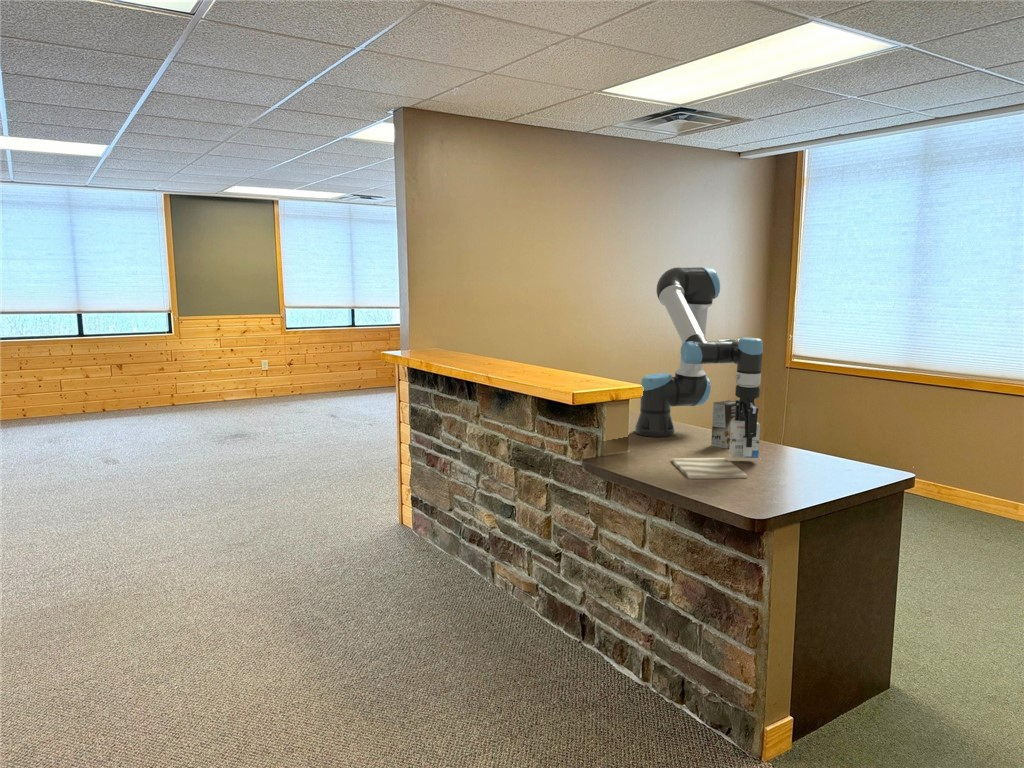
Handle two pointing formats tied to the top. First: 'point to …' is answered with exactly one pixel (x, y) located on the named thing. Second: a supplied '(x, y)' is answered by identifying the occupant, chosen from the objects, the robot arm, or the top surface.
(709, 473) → the cloth
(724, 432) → the coffee box
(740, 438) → the ink box
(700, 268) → the robot arm
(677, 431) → the top surface
